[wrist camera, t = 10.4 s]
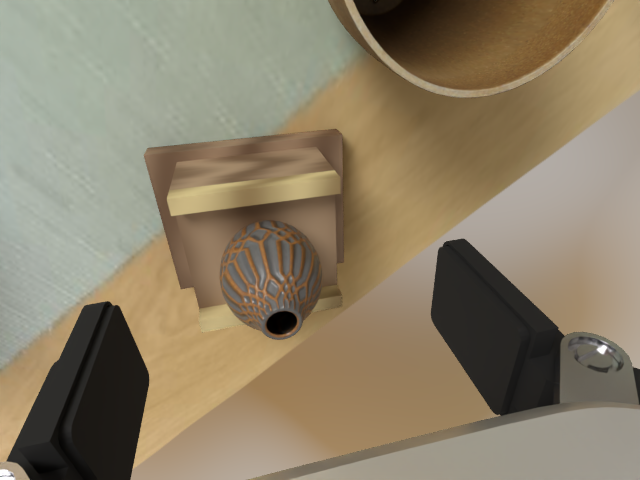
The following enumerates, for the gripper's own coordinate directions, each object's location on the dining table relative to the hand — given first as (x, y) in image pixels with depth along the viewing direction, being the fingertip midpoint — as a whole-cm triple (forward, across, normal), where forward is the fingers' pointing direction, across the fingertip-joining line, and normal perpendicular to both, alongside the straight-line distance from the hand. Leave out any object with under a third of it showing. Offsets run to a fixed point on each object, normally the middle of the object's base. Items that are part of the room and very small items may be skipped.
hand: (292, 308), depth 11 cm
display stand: (+25, +1, +8) cm, 26 cm away
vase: (+17, 0, +8) cm, 19 cm away
